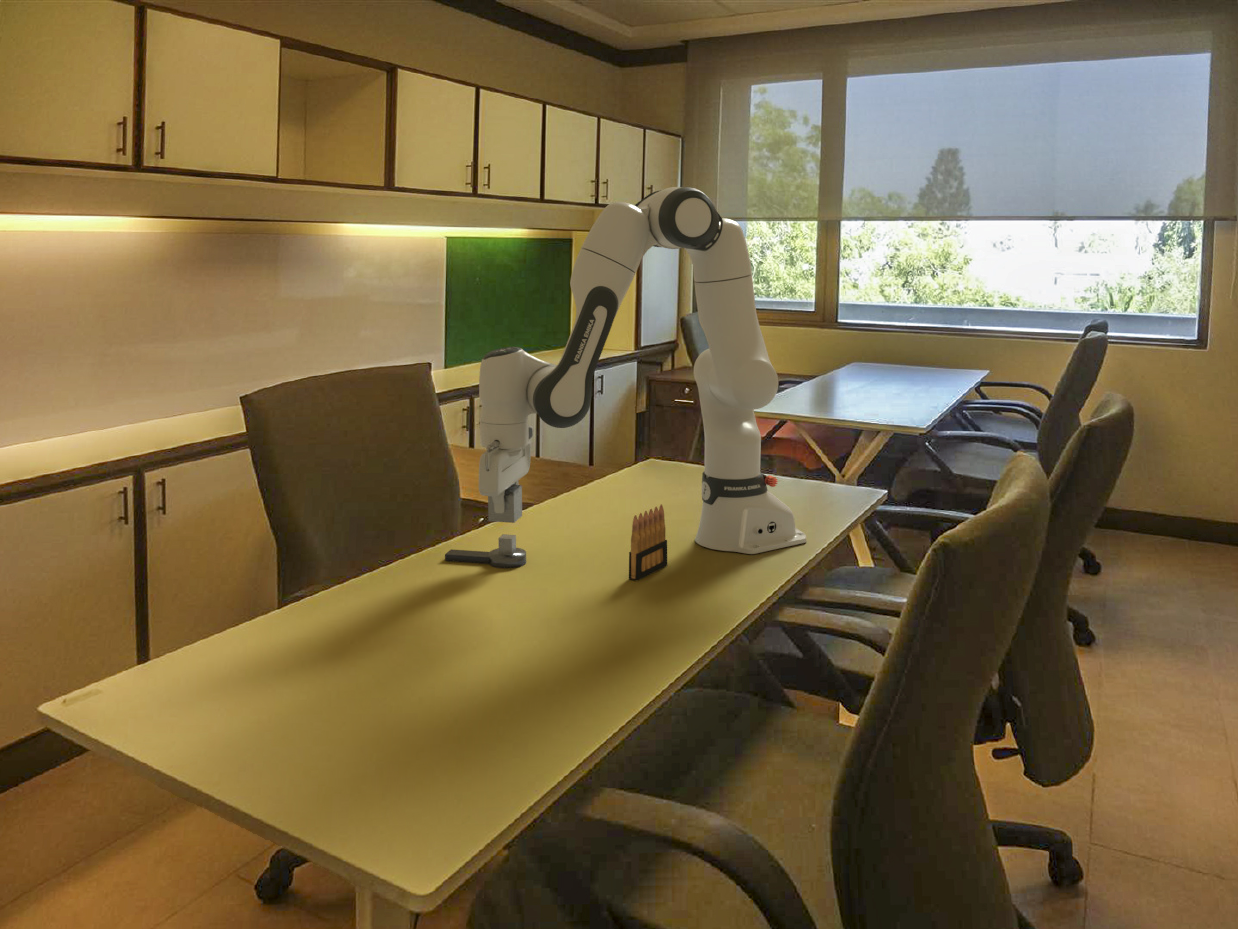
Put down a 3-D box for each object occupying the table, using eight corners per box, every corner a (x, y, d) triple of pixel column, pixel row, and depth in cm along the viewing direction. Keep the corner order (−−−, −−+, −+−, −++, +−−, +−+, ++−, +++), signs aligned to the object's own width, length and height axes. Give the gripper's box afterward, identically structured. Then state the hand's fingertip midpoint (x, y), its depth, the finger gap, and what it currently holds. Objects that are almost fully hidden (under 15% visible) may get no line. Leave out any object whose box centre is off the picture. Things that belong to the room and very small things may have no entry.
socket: (522, 515, 204) (521, 485, 202) (514, 522, 199) (513, 491, 198) (497, 514, 205) (496, 483, 203) (488, 521, 200) (487, 490, 199)
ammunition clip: (636, 581, 193) (637, 517, 191) (628, 579, 194) (628, 515, 192) (667, 565, 202) (668, 504, 199) (659, 563, 203) (659, 502, 200)
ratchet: (530, 558, 207) (530, 532, 205) (520, 569, 200) (519, 543, 199) (454, 553, 210) (453, 527, 209) (441, 564, 203) (440, 538, 202)
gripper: (502, 447, 188) (504, 523, 191) (536, 426, 207) (536, 495, 210) (468, 446, 189) (470, 521, 192) (504, 424, 209) (506, 493, 212)
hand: (505, 507), depth 201 cm, fingers closed on socket, 5 cm apart
